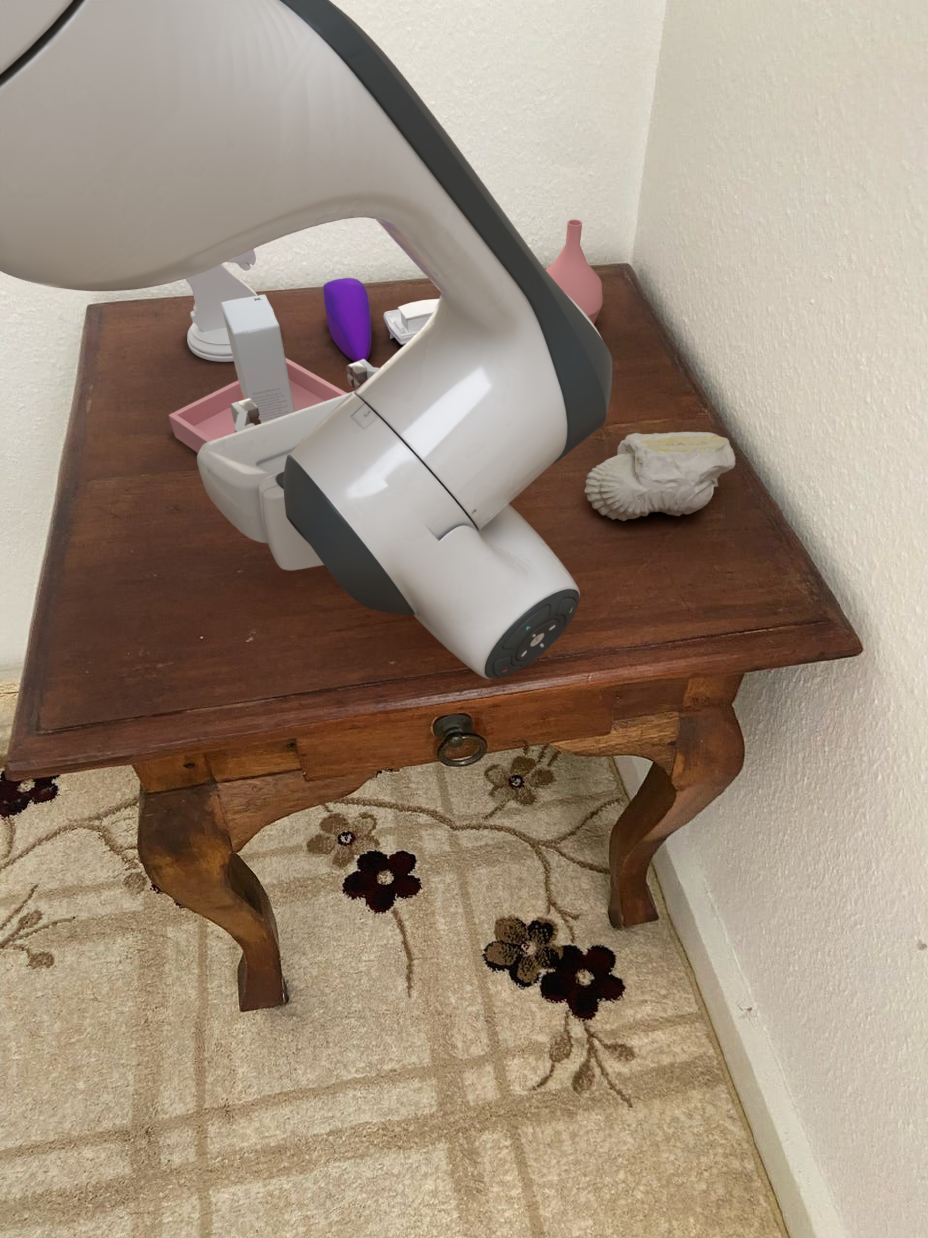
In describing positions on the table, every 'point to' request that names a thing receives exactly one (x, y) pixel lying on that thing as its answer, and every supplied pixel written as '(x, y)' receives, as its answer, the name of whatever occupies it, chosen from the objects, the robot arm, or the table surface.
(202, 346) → the chess piece
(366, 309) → the purple rounded wedge
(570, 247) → the pink vase
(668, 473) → the fossil replica
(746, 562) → the table surface
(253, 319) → the cosmetic box
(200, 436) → the tray
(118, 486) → the table surface
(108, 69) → the robot arm
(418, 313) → the white toy boat
